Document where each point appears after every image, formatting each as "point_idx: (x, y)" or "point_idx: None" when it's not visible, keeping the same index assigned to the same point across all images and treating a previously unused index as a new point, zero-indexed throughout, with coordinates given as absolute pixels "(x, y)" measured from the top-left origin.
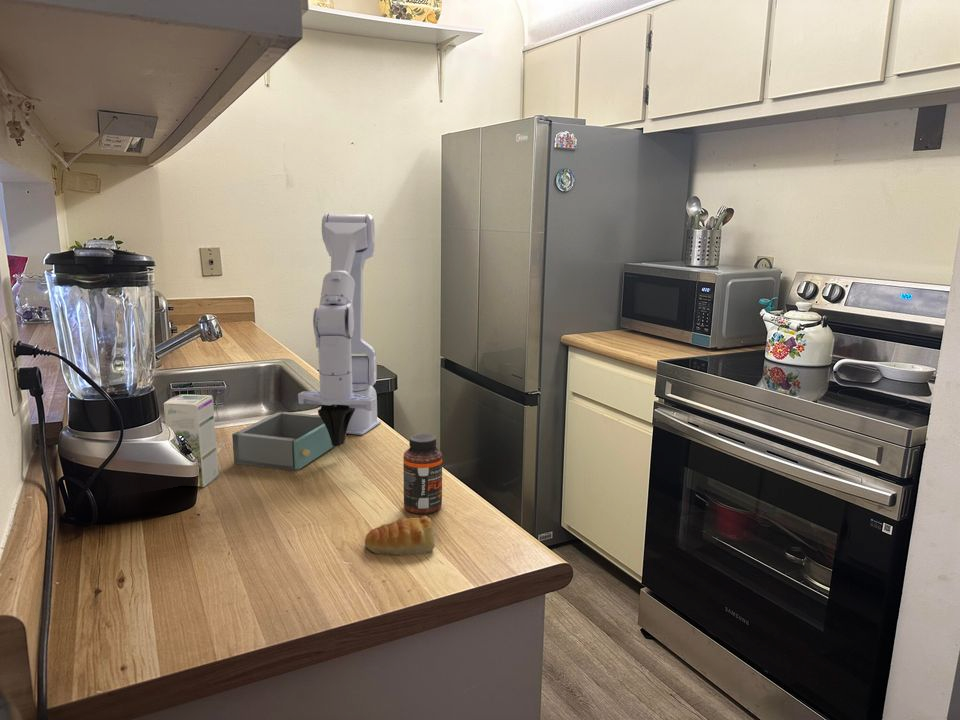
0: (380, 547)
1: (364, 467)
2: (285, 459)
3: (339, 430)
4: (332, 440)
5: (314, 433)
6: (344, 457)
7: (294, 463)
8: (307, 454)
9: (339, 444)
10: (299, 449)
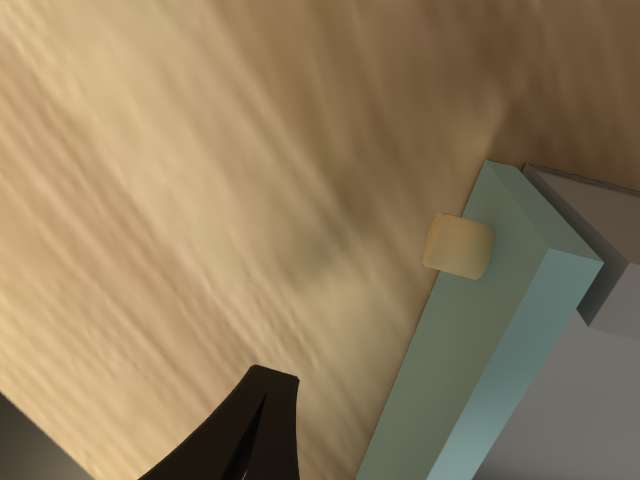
0: None
1: (127, 235)
2: (615, 202)
3: (180, 447)
4: (282, 399)
5: (423, 469)
6: (275, 359)
7: None
8: (434, 226)
9: (245, 375)
10: (510, 229)
